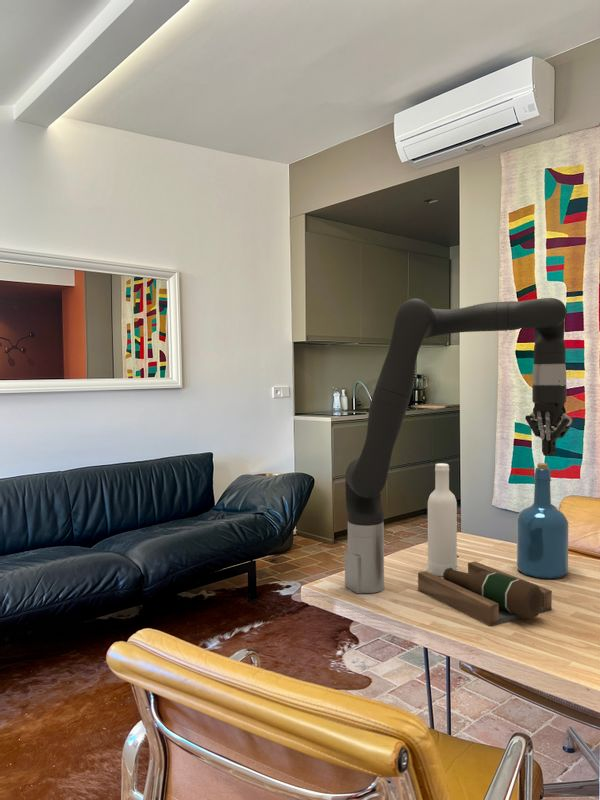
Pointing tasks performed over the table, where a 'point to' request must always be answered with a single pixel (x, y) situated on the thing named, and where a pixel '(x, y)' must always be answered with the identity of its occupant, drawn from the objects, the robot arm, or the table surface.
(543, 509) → the wine bottle
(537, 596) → the beer bottle
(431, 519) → the bottle
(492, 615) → the cradle
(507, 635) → the table surface
